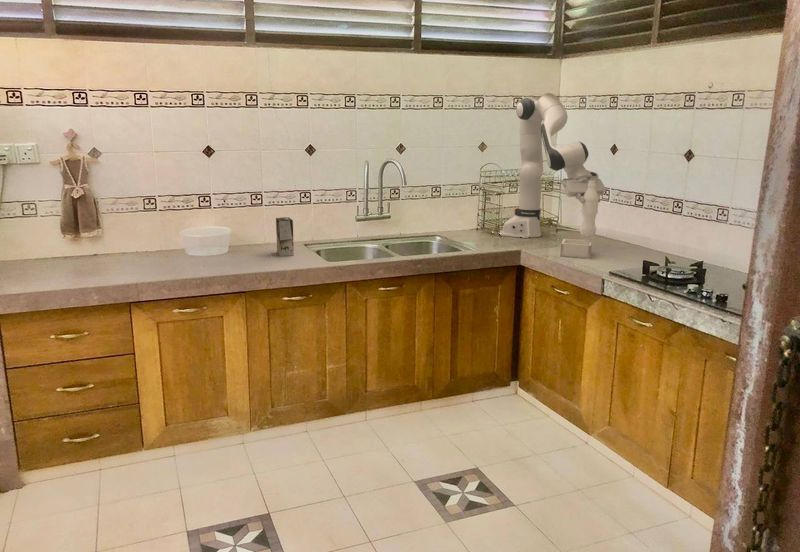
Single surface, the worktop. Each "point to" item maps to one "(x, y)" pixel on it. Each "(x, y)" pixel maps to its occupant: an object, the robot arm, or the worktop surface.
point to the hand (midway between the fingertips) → (591, 202)
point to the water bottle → (589, 210)
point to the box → (576, 248)
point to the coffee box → (284, 236)
